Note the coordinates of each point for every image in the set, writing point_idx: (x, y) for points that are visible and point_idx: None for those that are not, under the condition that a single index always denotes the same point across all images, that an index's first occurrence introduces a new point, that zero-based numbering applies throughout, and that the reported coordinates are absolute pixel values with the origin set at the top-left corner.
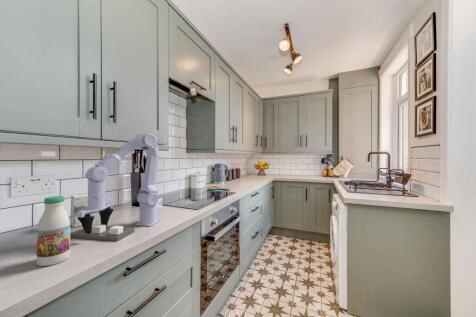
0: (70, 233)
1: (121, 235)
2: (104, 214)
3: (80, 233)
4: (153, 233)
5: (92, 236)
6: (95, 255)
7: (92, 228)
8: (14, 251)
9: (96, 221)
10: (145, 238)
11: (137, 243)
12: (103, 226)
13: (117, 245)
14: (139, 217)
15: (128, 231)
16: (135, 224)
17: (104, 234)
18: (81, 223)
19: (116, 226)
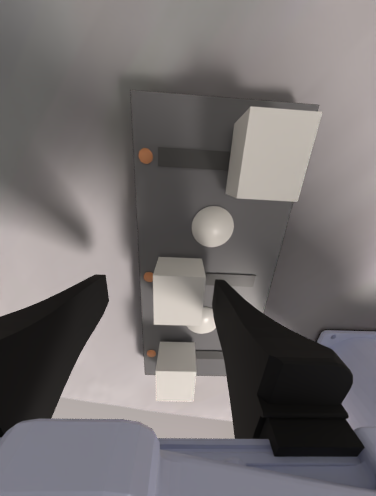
0: (134, 104)
1: None
2: (238, 374)
3: (149, 184)
4: (228, 411)
5: (141, 272)
6: None
7: (154, 273)
8: None
9: (289, 200)
10: (185, 409)
11: (147, 408)
12: (182, 322)
13: (119, 375)
14: (365, 372)
15: (209, 374)
16: (324, 335)
17: None
18: (18, 315)
19: (183, 383)
